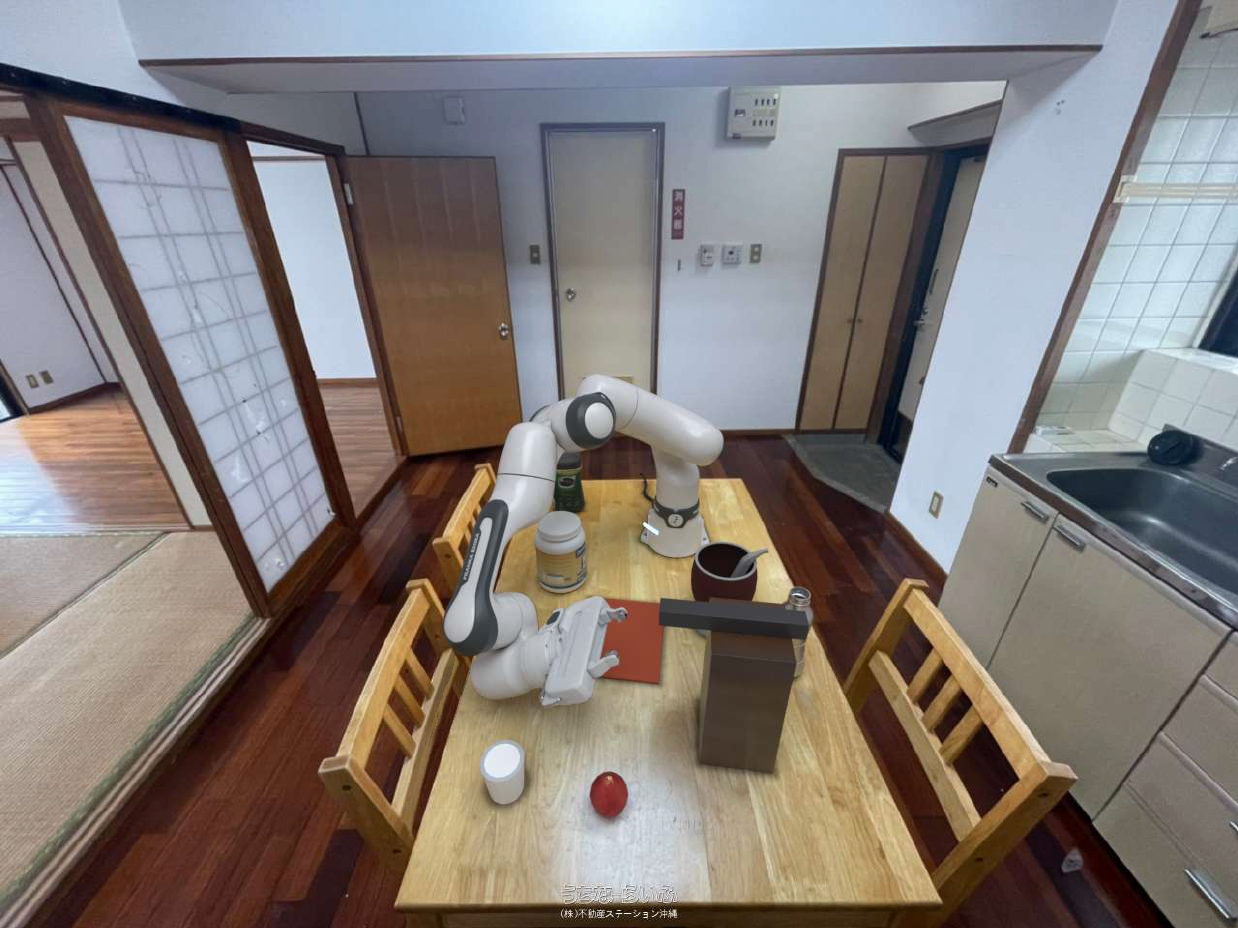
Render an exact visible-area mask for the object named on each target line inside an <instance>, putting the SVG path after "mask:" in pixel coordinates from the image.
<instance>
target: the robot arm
mask: <svg viewBox="0 0 1238 928" xmlns="http://www.w3.org/2000/svg"><path fill="white" fill-rule="evenodd" d="M615 432H617V433H620V434H622V435H625V436H628V437H631V438H633V439H636V440H639V441H641V442H642V443H645V444H647V445H649V446H650V449H651V453H652V457H653V461H654V467H655V473H656V475H655V477H656V478H655V479H656V481H655V482H656V485H655V488H656V489H655V495H654V498H652V497H651V496H650V495H649V494H648V493H647V489H648V481H647V478H646V475H645V474H644V472H640V473H639V476H642V478H643V481H644V488H643V491H642V492H643V495H644V496H645V497H646V498H647V499H648V500H649V501H651V507H650V508H649V509H648V513H647V522H643V526H644V527H645V528H644V529H643V531H642V533H641V535H640V541H641V542H642V543H644V544H646V545H648V546H649V547H650V548H651V550H653V551H654V552H655V553H656V554H659V555H661V556H664V557H667V558H677V559H678V558H685V557H689V556H692V555H694V554H696V552H697V550H698V549H699V548H700V547H701V546H703V545H705V544H708V543H710V539H709V536H708V534H707V531H706V528H705V525H704V524H705V521H704V518H703V516H702V514H701V512H700V508H701V502H700V497H699V492H700V482H701V481H700V479H701V474H700V469H699V467H705V466H708V465H711V464H712V463H714V462H715V461H716V460H717V459H718V458H719V456H720V455H721V454H722V451H723V448H724V445H725V444H724V443H725V440H724V436H723V433H722V432H721V431H720V429H718V427H717V426H715V425H714V424H713V422H711V421H710V420H709V419H707V418H705V417H703V416H701V415H699V414H698V413H696V412H693V411H692V410H690V409H688V408H686V407H685V406H682V405H681V404H679V403H677V402H674V401H671V400H667V399H665V398H663V397H661V396H659V395H657V394H655V393H653V392H650V391H649V390H646V389H644V388H641V387H639V386H637V385H635V384H633V383H630V382H628V381H625V380H624V379H623V380H622V379H620V378H617V377H614V376H611V375H606V374H601V373H600V374H599V373H592V374H589V375H588V376H586V377H585V378H584V379H582V381H581V382H580V383H579V385H578V386H577V388H576V393H575V397H569V398H565V399H561V400H559V401H556V402H553V403H551V404H548V405H544V406H542V407H540V408H539V409H537V410H536V411H535V412H534V413H533V414H532V416H531V417H530V418H529V420H528V421H524V422H519V423H517V424H515V425H514V426H512V427H511V429H510V430H509V432H508V434H507V436H506V439H505V442H504V445H503V447H502V452H501V456H500V459H499V463H498V469H497V475H496V480H495V483H494V487H493V490H492V493H491V496H490V498H489V499H488V501H487V503H485V504H484V505H483V506H482V508H481V509H480V511H479V513H478V515H477V518H476V520H475V523H474V526H473V530H472V531H471V532H472V533H471V536H470V538H469V539H470V540H469V543H468V546H467V549H466V553H465V556H464V559H463V563H462V566H461V571H460V574H459V577H458V581H457V583H456V587H455V589H454V592H453V594H452V596H451V598H450V600H449V602H448V604H447V606H446V609H445V611H444V614H443V618H442V631H443V636H444V638H445V641H446V642H447V644H448V645H449V647H450V648H451V649H452V650H453V651H454V652H455V653H456V654H458V655H460V656H461V657H466V658H470V657H475V656H476V658H475V660H474V661H473V662H472V665H471V666H470V670H469V676H470V677H469V678H470V682H471V685H472V687H473V688H474V690H475V691H476V692H477V694H479V695H480V696H481V697H483V698H485V699H487V700H493V701H494V700H497V701H498V700H505V699H511V698H515V697H519V696H521V695H525V694H528V693H529V692H530V691H532V690H534V689H541V691H540V693H539V697H538V700H539V702H540V706H541V707H543V708H545V709H549V708H552V707H555V706H571V705H578V704H582V703H586V702H587V701H588V700H589V699H591V697H592V696H593V694H594V689H595V686H596V680H597V679H598V678H600V677H601V676H602V675H603V674H604V673H605V672H606V671H607V670H609V669H610V667H613V666H616V665H619V660H620V655H619V654H618V652H617V651H616V650H613V651H611V652H610V651H609V652H606V655H605V657H604V658H602V659H601V660H600V658H601V653H602V648H603V644H604V639H605V634H606V630H607V625H608V623H609V622H611V621H612V619H617V621H618V622H619V623H620V622H622V621H626V619H627V614H628V612H627V611H626V609H625V608H623V607H621V608H618V609H611V608H610V606H609V605H608V603H607V602H606V601H605V599H604V598H605V597H604V596H601V595H593V596H589V597H587V598H584V599H581V600H579V601H577V602H573V603H572V604H570V605H569V606H567V608H566V609H565V608H563V607H558V608H556V609H554V610H553V612H551V615H550V616H549V617H548V619H547V620H546V622H545V623H544V624H543V626H542V627H540V625H539V617H538V616H539V615H538V611H537V607H536V605H535V603H534V601H533V599H532V598H531V597H530V596H529V595H528V594H526V593H524V592H520V591H499V592H494V588H495V584H496V580H497V577H498V572H499V570H500V565H501V562H502V557H503V554H504V551H505V549H506V546H507V545H508V543H509V541H510V540H511V539H513V537H514V536H515V535H516V534H518V533H519V532H521V531H523V530H525V529H527V528H529V527H532V526H535V525H537V523H538V522H539V521H540V520H542V519H543V518H544V517H545V516H546V515H547V514H548V513H550V509H551V506H552V505H553V495H554V488H555V480H556V469H557V464H558V461H559V459H560V457H561V455H562V454H568V453H576V452H580V453H581V452H584V451H590V450H591V451H592V450H596V449H598V448H600V447H602V446H604V445H606V444H607V443H608V442H609V441H610V440H611V438H612V437H613V435H614V433H615ZM698 466H699V467H698Z"/></svg>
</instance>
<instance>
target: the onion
mask: <svg viewBox="0 0 1238 928" xmlns="http://www.w3.org/2000/svg"><path fill="white" fill-rule="evenodd" d="M628 797H629V791H628V786H627V782H625V780H624V779H623V777H622V776H621V775H620V774H619V773H617V772H614V771H604V772H602V773H600V774H598V775H597V776H596V777H595V779H594V780H593V781H592V783H591V785H590V791H589V799H590V804H591V806H592V808H593V810H594V811H595V813H597V814H598V815H599V816H601V817H606V818H614V817H616V816H617V815H619V814H620V813H622V812H623V811H624V809H625V808H626V806H627V802H628Z"/></svg>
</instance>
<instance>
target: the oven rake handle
mask: <svg viewBox="0 0 1238 928" xmlns="http://www.w3.org/2000/svg"><path fill="white" fill-rule="evenodd" d="M659 604H660V608H659V626H664V627H670V628H678V629H679V628H681V629H690V630H691V629H692V630H696V629H699V630H709V631H719V632H729V633H739V634H749V635H760V636H770V637H780V638H790V639H800V640H806V641H807V639H806V636H807V632H808V627H809V624H808V620H807V616H806V612H805V611H798V610H787V609H777V608H766V607H755V606H744V605H733V604H722V603H712V602H701V601H695V600H689V599H679V598H669V597H668V598H667V597H660V600H659ZM807 637H808V636H807Z"/></svg>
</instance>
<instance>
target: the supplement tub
mask: <svg viewBox="0 0 1238 928" xmlns="http://www.w3.org/2000/svg"><path fill="white" fill-rule="evenodd" d="M533 538H534V539H533V543H534V551H535V562H536V571H537V580H538V583H539V585H540V586H541V587H542V588H543V589H545V590H546V591H547V592H551V593H555V594H567V593H570V592H573V591H575V590H578V589H579V588H581V586H583V584H584V583H585V582H586V580H587V577H588V576H587V575H588V569H587V547H586V545H587V544H586V533H585V530H584V528H583V527H582V523H581V518H580V517H579V516H578V515H577V514H576V513H575V512H567V511H556V510H554V511H550V512H548V513H547V515H546V516H545V517H544V518H543V519H542V520H540V521H539V522H538V523H536V531H535V533H534V536H533Z"/></svg>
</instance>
